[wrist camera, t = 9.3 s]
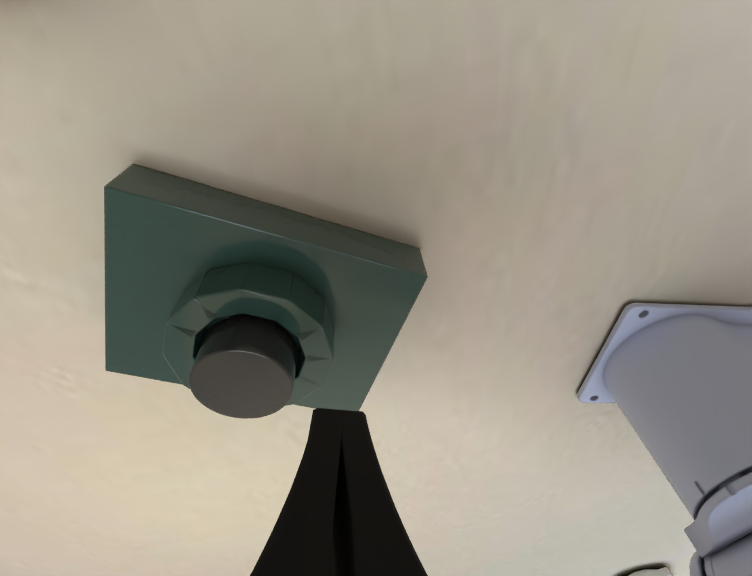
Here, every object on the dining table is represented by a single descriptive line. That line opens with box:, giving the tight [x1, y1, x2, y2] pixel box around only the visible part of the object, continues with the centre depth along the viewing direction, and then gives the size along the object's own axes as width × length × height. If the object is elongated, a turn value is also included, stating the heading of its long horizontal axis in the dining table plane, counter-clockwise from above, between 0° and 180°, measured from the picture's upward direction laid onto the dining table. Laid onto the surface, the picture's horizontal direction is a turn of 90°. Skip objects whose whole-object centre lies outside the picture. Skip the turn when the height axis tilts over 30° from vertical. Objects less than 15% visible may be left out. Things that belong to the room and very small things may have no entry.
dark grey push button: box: [189, 316, 298, 418], centre depth 17 cm, size 4×4×2 cm
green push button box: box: [104, 164, 428, 411], centre depth 19 cm, size 13×10×4 cm
